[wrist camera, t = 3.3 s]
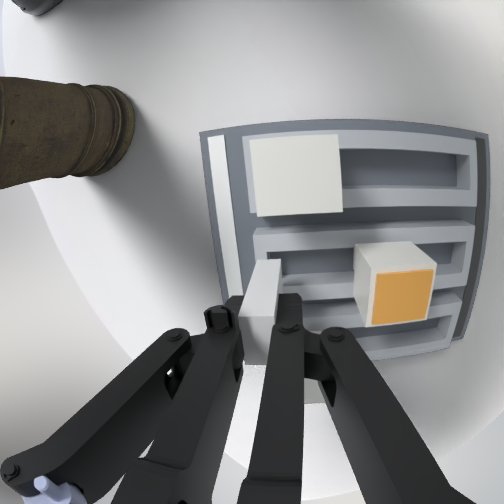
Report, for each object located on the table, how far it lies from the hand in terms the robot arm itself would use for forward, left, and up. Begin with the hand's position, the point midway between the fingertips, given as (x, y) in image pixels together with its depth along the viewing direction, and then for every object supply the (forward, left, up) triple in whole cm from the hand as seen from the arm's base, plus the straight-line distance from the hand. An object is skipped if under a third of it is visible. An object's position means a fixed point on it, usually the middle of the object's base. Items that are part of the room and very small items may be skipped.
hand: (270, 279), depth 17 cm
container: (-13, -16, -6) cm, 21 cm away
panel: (0, +7, -5) cm, 9 cm away
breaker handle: (0, +7, -3) cm, 8 cm away
